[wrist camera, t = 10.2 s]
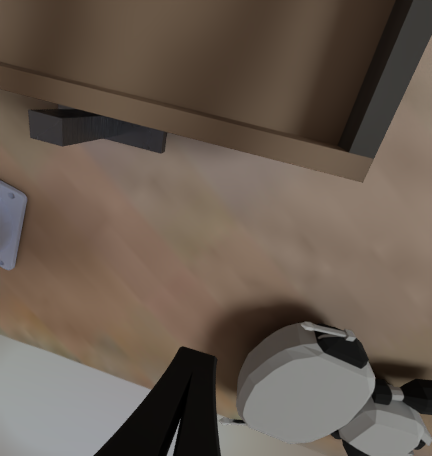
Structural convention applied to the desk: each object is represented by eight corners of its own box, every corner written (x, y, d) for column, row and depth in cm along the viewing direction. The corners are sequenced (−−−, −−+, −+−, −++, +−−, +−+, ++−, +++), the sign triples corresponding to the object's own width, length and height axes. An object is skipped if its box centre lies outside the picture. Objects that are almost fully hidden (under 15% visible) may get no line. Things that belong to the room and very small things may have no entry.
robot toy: (460, 359, 21) (288, 281, 20) (509, 422, 17) (297, 328, 16) (358, 434, 27) (217, 376, 25) (377, 495, 23) (211, 429, 21)
